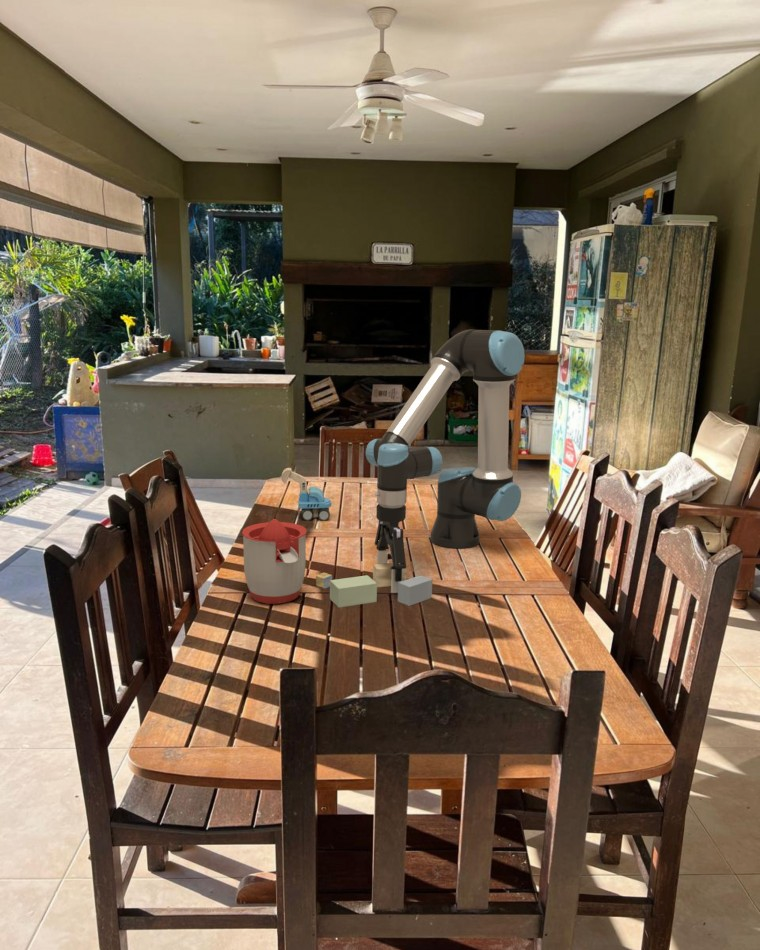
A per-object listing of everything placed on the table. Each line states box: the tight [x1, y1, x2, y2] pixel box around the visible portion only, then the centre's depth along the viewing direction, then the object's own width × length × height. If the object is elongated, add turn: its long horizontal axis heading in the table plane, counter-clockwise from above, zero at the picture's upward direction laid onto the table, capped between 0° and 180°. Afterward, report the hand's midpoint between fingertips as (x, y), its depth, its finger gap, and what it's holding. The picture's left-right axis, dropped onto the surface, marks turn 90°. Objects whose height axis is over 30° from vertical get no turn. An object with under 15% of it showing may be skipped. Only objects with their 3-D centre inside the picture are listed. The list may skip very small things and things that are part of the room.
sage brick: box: [329, 574, 378, 608], centre depth 186 cm, size 10×6×5 cm, turn 114°
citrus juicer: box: [241, 518, 308, 605], centre depth 185 cm, size 16×17×20 cm
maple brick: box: [372, 562, 408, 588], centre depth 198 cm, size 8×4×5 cm, turn 106°
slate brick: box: [397, 575, 433, 607], centre depth 187 cm, size 8×4×5 cm, turn 133°
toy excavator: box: [281, 467, 332, 522], centre depth 254 cm, size 9×17×17 cm, turn 95°
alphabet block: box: [315, 572, 333, 589], centre depth 195 cm, size 3×3×3 cm
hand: (388, 582), depth 198 cm, fingers open, 13 cm apart
